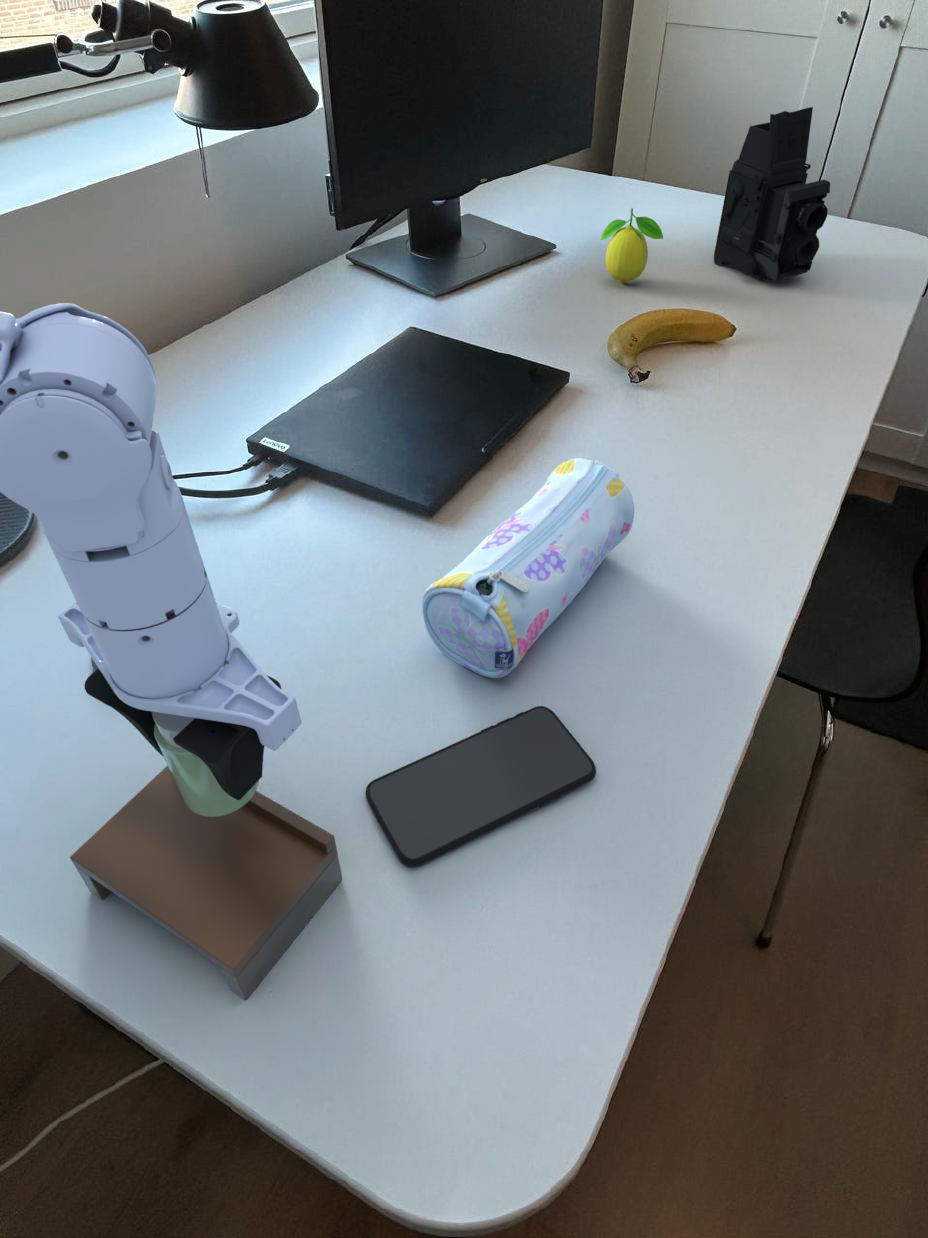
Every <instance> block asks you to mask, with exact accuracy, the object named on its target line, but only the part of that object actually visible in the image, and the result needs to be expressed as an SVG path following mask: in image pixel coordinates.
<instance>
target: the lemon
mask: <svg viewBox="0 0 928 1238" xmlns="http://www.w3.org/2000/svg"><path fill="white" fill-rule="evenodd" d="M633 218H635V221H636V225H637V226H636V227H637V228H636V227H634V225H632V223H633ZM627 223H629V224H628V225H627V226H625V225H626V224H627ZM611 236H612V237H611ZM610 237H611V239H610V241H609V243H608V245H607V248H606V252H605V253H606V254H605V266H606V270H607V272H608V274H609V275H610V277H612V278H614V279H615V280H617V281H619V283H620V284H623V285H624V284H627V282H630V281H633V280H635V279H637V278H639V277H640V276H641V275H642V274H643V272H644V270H645V269H646V266H647V263H648V258H649V249H648V243H647V239H646V238H645V237H647V238H650V239H653V240H664V235H663V232H662V229H661V227H660V225H659V224H658V223H657V221H655V220H654V219H652V218H650V217H648V216H636V215H635V214H634V208H633V207H631V208H630V218H629V219H628V220H624V219H615V220H612V221H611V222H610V223H608V225H607V226H606V227H605V229H603V232H602V235H601V237H600V238H599V239H600V240H601V241H602V240H603V241H604V240H607V239H608V238H610Z"/></svg>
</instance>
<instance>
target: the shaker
mask: <svg viewBox="0 0 928 1238" xmlns="http://www.w3.org/2000/svg"><path fill="white" fill-rule="evenodd" d="M152 716H153V719H154V721H155V726H154V735H155V739H156V741H157V743H158V745H159V747H160V750H161V752H162V754H163V756H164V757H163V756H162V757H163V758H164V760H165V763H166V766H167V765H168V767H169V769H170V772H171V774H172V776H173V778H174V780H175V783H176V785H177V787H178V789H179V791H180V794H181V796H182V798H183V800H184V802H185V804H186V806H187V807H188V808H189V809H190V810H191V811H193V812H195V813H196V814H199V815H202V816H207V817H218V816H223V815H227V814H230V813H232V812H234V811H236V810H238V809H240V808H241V807H243V806H244V805H245V804H246V803H247V802H248V801H249V800H250V799H251V798H252V797H253V795H254V794H255V792H256V791H257V789H258V786H259V783H260V780H259V781H258V782H257V783H256V784H255V785H254V786H253V787H252V788H251V789H250V790H249V791H248V792H247V793H246V794H245V795H244V796H243V797H242V799H241V800H236V799H234V798H233V797H231V796H229V795H228V794H227V793H226V792H225V791H224V790H223V789H222V788H221V787H220V785H219V784H218V782H217V780H216V779H215V777H214V775H213V774H212V772H211V770H210V769H209V768H208V766H207V765H206V764H205V763H204V762H203V761H202V760H201V759H200V758H199V757H198V756H196V755H194V754H193V753H191V752H189V751H187V750H186V749H184V748H182V747H180V746H179V745H177V744H175V742H174V737H175V736H176V735H177V734H178V733H180V732H181V731H182V730H183V729H184V728H185V727H186V726H187V725H188V724H189V723H190V722H191V721H192V720H193V719H194V718H192V717H186V716H179V715H172V714H165V713H159V712H152Z"/></svg>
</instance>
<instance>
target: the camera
mask: <svg viewBox="0 0 928 1238" xmlns="http://www.w3.org/2000/svg"><path fill="white" fill-rule="evenodd" d="M813 109H814V106H811V107H805V108H802V109H799V110H795V111H787V110H784V111H780V112H778V113H775V114H773V113H770V115H769V122H764V123H759V124H754V125H750V126H749V128H748V131H747V133H746V136H745V140H744V142H743V145H742V147H741V151H740V154H739V158H738V159H735V160H734V162H733V164H732V167H731V170H729V172H728V177H727V178H728V179H727V182H726V188H725V194H724V198H723V204H722V209H721V215H720V220H719V226H718V230H717V237H716V242H715V247H714V252H713V261H714V262H713V263H714V265H717V266H721V265H725V266H728V267H730V268H732V269H734V270H736V271H738V272H740V273H743V274H744V275H745V276H749V277H751V278H753V279H755V280H757V281H759V282H761V281H765V280H768V279H771V280H773V281H777V280H781V281H783V280H787V279H790V278H792V277H796V276H800V275H802V274H806V273H808V271H809V272H810V271H811V268H812V264H813V261H814V259H815V257H816V255H817V253H818V251H819V249H820V238H819V237H818V236H817V234H818V231H819V230H820V229H821V228H823V226H824V225H825V222H826V220H827V218H828V212H829V211H828V210H829V209H828V207H827V206H826V205H825V200H824V199H825V198H827V197H828V194H830V193H831V182H830V181H829V180H826V179H820V180H817V181H816V180H815V181H812V182H807V179H808V175H809V173H808V170H811V165H812V164H809V163H807V159H808V158H807V157H808V149H809V142H810V141H809V140H810V134H811V126H812V117H813Z"/></svg>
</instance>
